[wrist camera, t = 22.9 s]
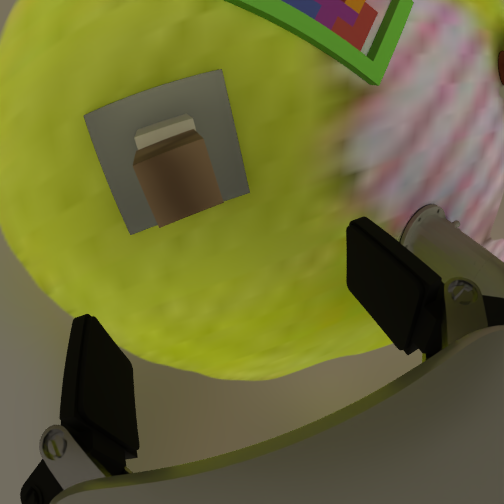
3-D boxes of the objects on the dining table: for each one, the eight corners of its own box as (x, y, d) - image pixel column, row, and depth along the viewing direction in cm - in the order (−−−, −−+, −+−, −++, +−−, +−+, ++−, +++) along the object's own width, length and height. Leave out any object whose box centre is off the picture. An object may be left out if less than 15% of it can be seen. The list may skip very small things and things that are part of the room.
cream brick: (186, 113, 26) (193, 118, 22) (203, 177, 30) (212, 193, 26) (137, 129, 25) (134, 137, 21) (157, 192, 29) (159, 211, 25)
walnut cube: (193, 128, 22) (203, 138, 18) (210, 181, 25) (223, 202, 21) (136, 150, 22) (132, 165, 18) (156, 202, 24) (159, 227, 20)
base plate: (219, 69, 25) (221, 69, 24) (247, 189, 33) (249, 192, 32) (85, 114, 23) (83, 115, 22) (130, 231, 31) (130, 235, 30)
